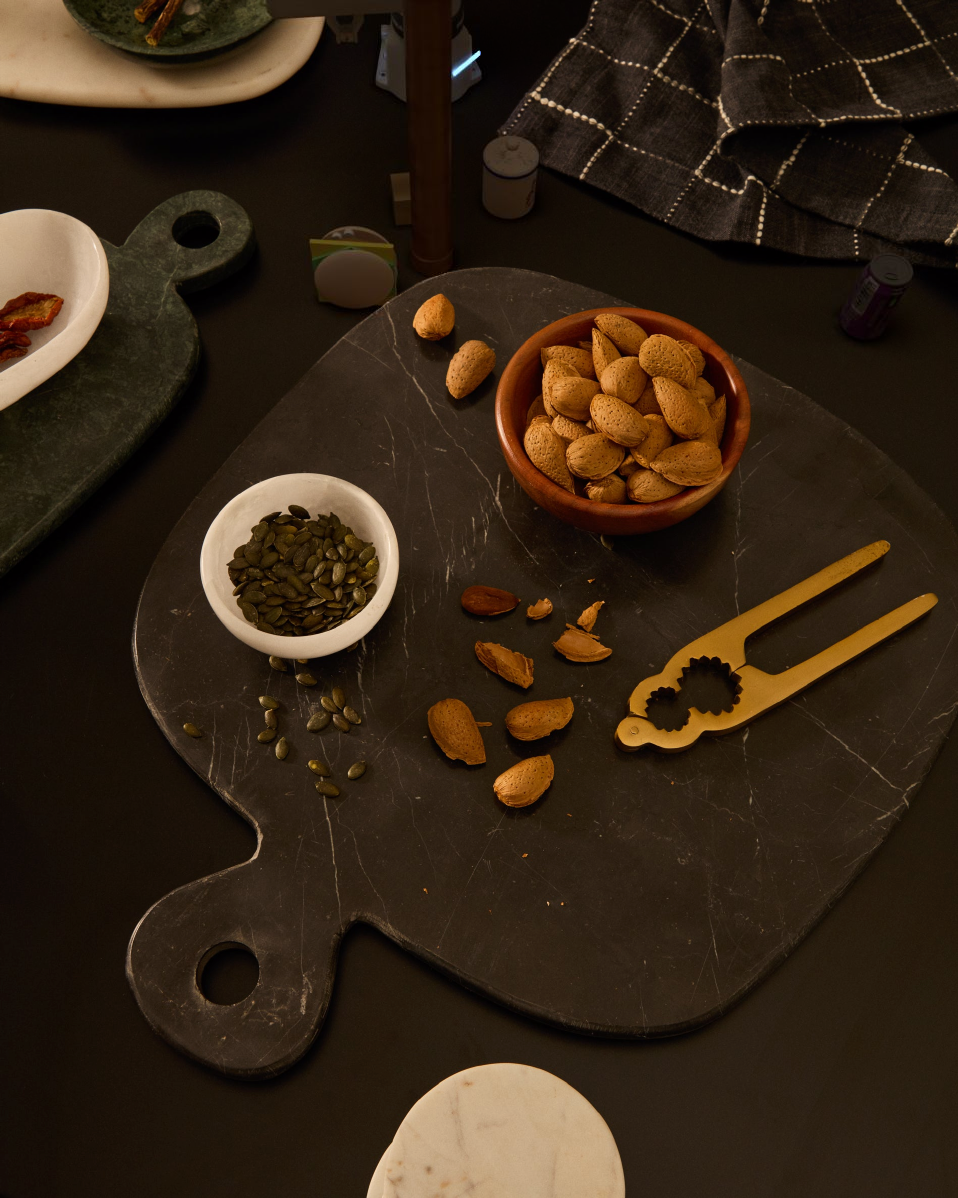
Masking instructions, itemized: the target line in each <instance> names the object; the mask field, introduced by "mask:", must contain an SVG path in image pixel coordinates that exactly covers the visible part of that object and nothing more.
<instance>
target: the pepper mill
mask: <svg viewBox="0 0 958 1198" xmlns="http://www.w3.org/2000/svg"><path fill="white" fill-rule="evenodd" d="M402 9H403V33H404V57H405V80H406V102H405V104H406V124H407V125H406V126H407V128H406V129H407V147H408V148H407V149H408V173H409V175H410V198H411V222H412V224H411V241H410V242H409V254H410V255H409V256H410V257H409V258H410V265H411V266H412V268H413V269H414V270H415V272H418V274H421V275H424V276H427V277H436V275H437V276H440V275H439V274H441V273H443V274H445V273H447V272H448V271H449V270H450V269H451V268H452V266H453V264H454V243H453V240H452V105H453V104H452V103H453V102H452V0H402ZM444 272H445V273H444ZM441 275H442V274H441Z"/></svg>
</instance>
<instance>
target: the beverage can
mask: <svg viewBox="0 0 958 1198" xmlns="http://www.w3.org/2000/svg"><path fill="white" fill-rule="evenodd" d="M913 275H914V268H913V266H912V264H911V263H910V262H909V260H907V259H906V258H905V257H903V256H902V255H900V254H897V253H894V252H881V253H879V254H877V255H875V256H874V257H873V258H872V259H871V261H870V262H868V263H867V264H866V265H865V266H864V267H863V269H862V271H861V272H860V274H859V277H858V278H857V281H856V283H855V284H854V285H853V288H852V290H851V291H850V294H849V296H848V297H847V300H846V302H845V304H844V305H843V307H842V309H841V311H840V312H839V319H838V321H839V324H840V326H841V328H842V329H843V330H844V332H845V333H847V334H848V335H850V336H852V337H853V338H856V339H859V340H866V341H867V340H873V339H877V338H878V337H880V336H882V334H883V333H884V331H885V329H886V328H887V326H888V324H889V323H890V321H891V320H892V318H893V317H894V314H895V313H896V311H897V309H898V308H899V307H900V304H901V303H902V301H903V299H904V298H905V296H906V295H907V293H908V291H909V289H910V288H911V283H912V277H913Z"/></svg>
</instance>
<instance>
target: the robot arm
mask: <svg viewBox="0 0 958 1198" xmlns="http://www.w3.org/2000/svg"><path fill="white" fill-rule="evenodd" d="M264 1H265V9H266V13H267V14H268V15H269V16H270V17H271V18H272V19H274V20H288V19H290V20H291V19H306V18H307V19H308V18H321V17H322V18H323V17H325V23H326V25H327V26H328V27H329V28H330V30H331V31H332V33H334V34H335V40H336V45H345V44H358V43H359V38H358V33H359V32H360V29H361V28H362V25H363V24H364V22H365V15H376V14H378V15H379V14H390V22H389V24H381V25H380V39H381V45H380V49H379V50H380V51H379V56H378V62H377V68H376V74H375V86H377V87H378V88H380V89H382V90H385V91H387V92H388V91H389V92H390V93H391V94H393V95H394V96H395V97H397V98H398V99H399V100H400V101H403V102H405V103H406V80H405V57H404V33H403V9H402V0H264ZM343 16H344V17H345V16H352V17H353V19H352V21H351V22H350V23H343V24H342V23H341V24H340V23H339V21H338V20H337V17H343ZM464 22H465V8H464V1H463V0H452V103H454V102H456V101H457V100H459V99H460V98H462V97H463V96H464V95H465V93H466V92H467V91H468V89H470V88H471V87H472V86H474V85H475V84H478V83H479V82H480V81H481V80H482V79H483V78H482V70H481V69H480V67H479V65H478V62H477V60H476V59H477V58H479V56H481V51H480V50H478V51H477V52H476V53H474V54H473V39H472V35H471V34H470V33H469V30H468V29H467V27H466V26H465V24H464Z"/></svg>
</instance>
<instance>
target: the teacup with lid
mask: <svg viewBox="0 0 958 1198" xmlns="http://www.w3.org/2000/svg"><path fill="white" fill-rule="evenodd" d="M481 160H482V164H483V165H482V166H483V167H482V168H483V169H482V190H481V193H482V194H481V201H482V202H481V203H482V205H483V207H484V208H485V210H486V211H487V212H488V213H489V214H491V215H492V216H494V217H496V218H500V219H505V220H515V219H519V218H521V217H524V216H526V215H527V214H529V212H530V211H531V210H532V209H533V207H534V204H535V196H536V189H537V179H538V178H537V177H538V168H539V167H540V162H541V156H540V154H539V150H538V149H537V147H536V146H535V145H534V143H532V142H531V141H529V139H527V138H524V137H521V136H518V135H517V136H516V135H504V136H503V135H502V136H499V137H497V138H494V139H492V140H491V141H490V142H489V143H488V144H487V145H485V147H484V149H483V151H482V155H481Z"/></svg>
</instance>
